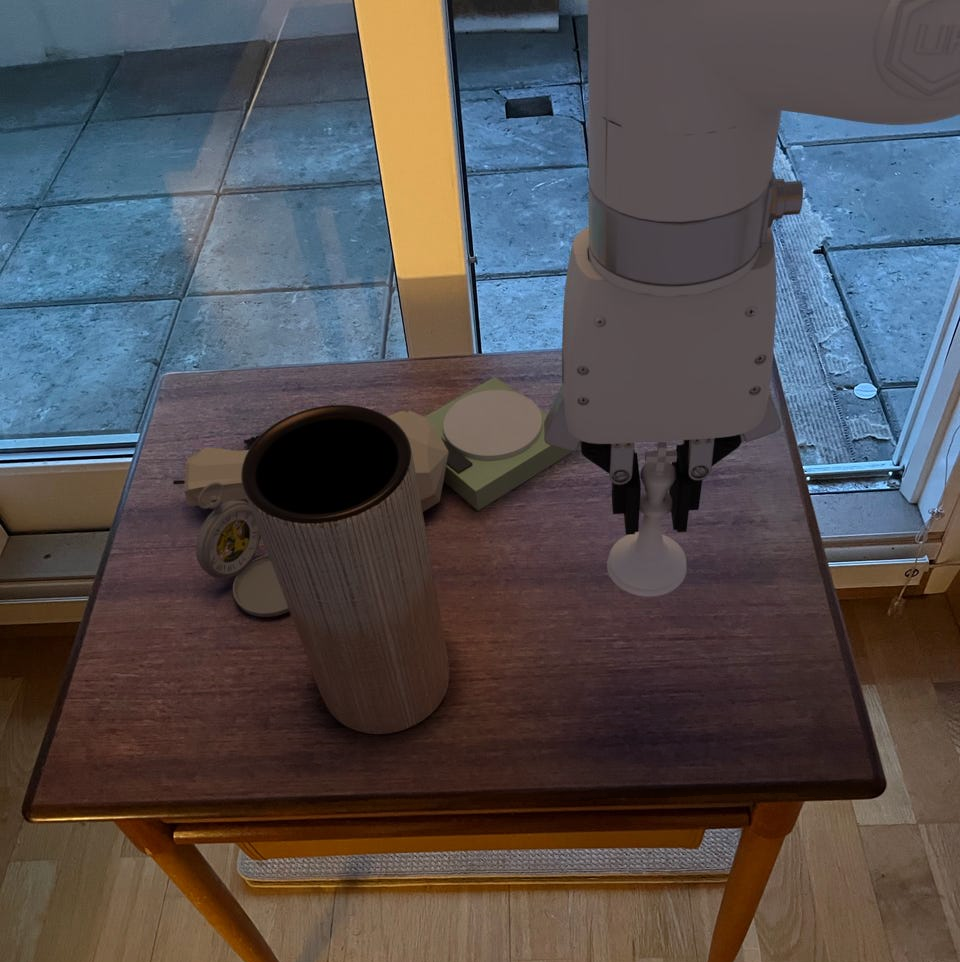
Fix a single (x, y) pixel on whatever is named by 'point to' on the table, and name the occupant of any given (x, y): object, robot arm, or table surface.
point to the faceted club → (228, 463)
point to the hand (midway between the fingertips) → (653, 514)
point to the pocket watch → (238, 556)
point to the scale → (492, 442)
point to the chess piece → (650, 535)
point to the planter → (352, 561)
